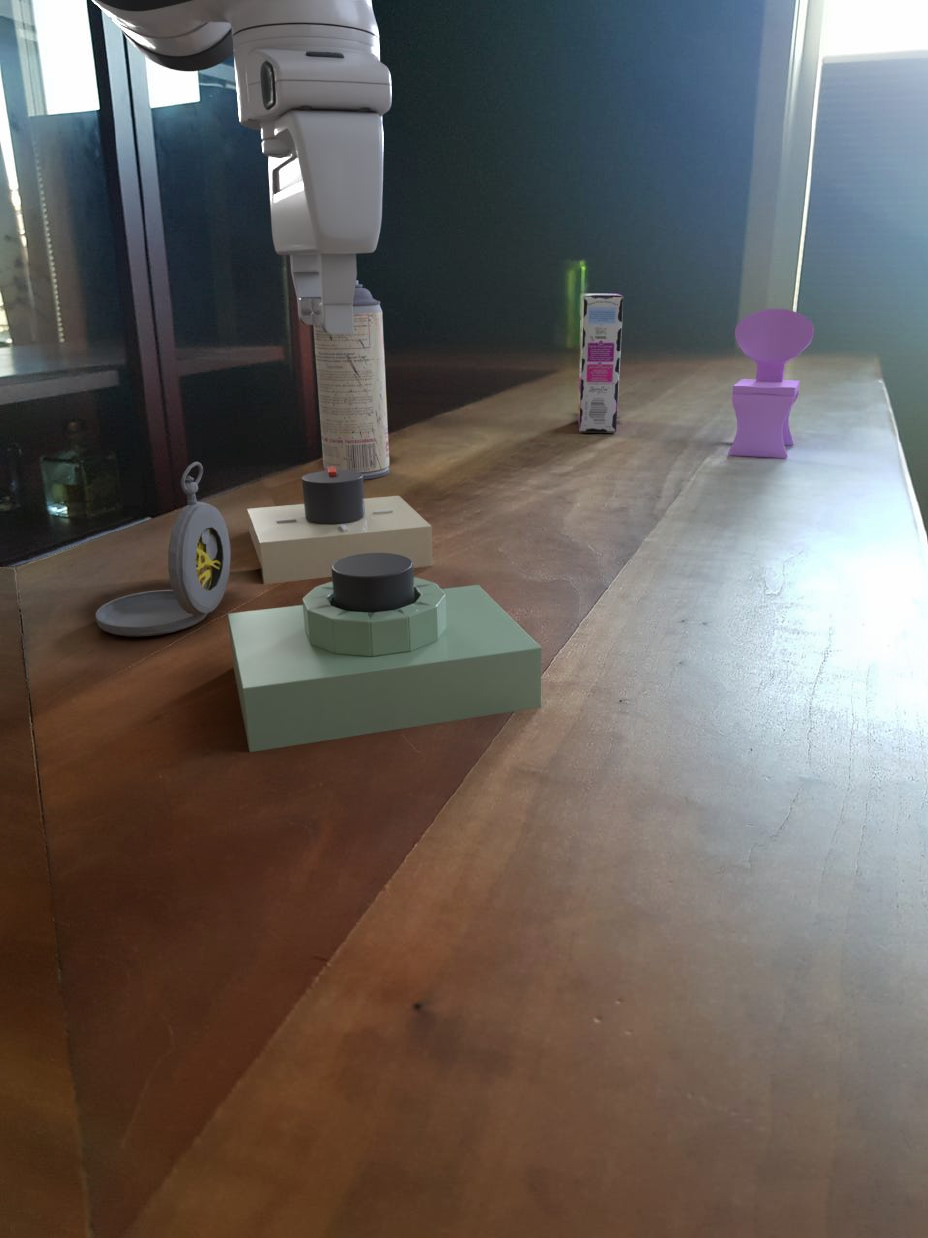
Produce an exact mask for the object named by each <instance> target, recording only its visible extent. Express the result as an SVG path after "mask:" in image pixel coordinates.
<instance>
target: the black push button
mask: <svg viewBox="0 0 928 1238" xmlns="http://www.w3.org/2000/svg"><path fill="white" fill-rule="evenodd" d="M414 575H415V574H414V568H413V562H412V561H411V560H410V559H409V558H407V557H405V556H401V555H397V554H390V553H365V554H358V555H352V556H348V557H345V558H342V559H340V560H338V561H336V562H335V563H334V564H333V565H332V577H331V582H332V583H333V597H334V606H335V607H336V608H339V609H342V610H345V611H352V612H367V613H374V612H382V611H391V610H396V609H399V608H402V607H405V606H408V605H410V604H413V603H414V601H415V598H414V577H415V576H414Z"/></svg>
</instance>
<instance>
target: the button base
mask: <svg viewBox="0 0 928 1238" xmlns="http://www.w3.org/2000/svg"><path fill="white" fill-rule="evenodd" d="M414 598H415V601H414V603H413V604H410V605H408V606H405V607H402V608H399V609H396V610H391V611H382V612H374V613H367V612H352V611H345V610H342V609H339V608H336V607H335V606H334V597H333V583H332V581H329V582H326V583H323V584H319V585H317V586H315V587H314V588H312V590H311V591H309V592H308V593H307V594H306V595H304V596H303V597H302V600H301V601H302V604H299V605H292V606H282V607H273V608H266V609H265V608H264V609H256V610H247V611H239V612H231V613H227V622H228V631H229V638H230V639H229V640H230V649H231V657H232V666H233V672H234V679H235V682H236V687H237V692H238V698H239V705H240V709H241V714H242V719H243V723H244V724H243V725H244V730H245V736H246V741H247V746H248V751H249V753H254V752H260V751H266V750H267V751H268V750H274V749H280V748H286V747H293V746H299V745H304V744H305V745H306V744H312V743H318V742H325V741H331V740H337V739H338V740H339V739H344V738H350V737H351V738H352V737H357V736H358V737H359V736H364V735H371V734H376V733H382V732H383V733H384V732H390V731H396V730H403V729H409V728H416V727H423V726H428V725H429V726H430V725H435V724H441V723H447V722H455V721H461V720H467V719H474V718H479V717H486V716H493V715H500V714H506V713H512V712H513V713H514V712H518V711H519V712H520V711H525V710H533V709H539V708H541V707H542V654H543V653H542V648H543V647H541V646H540V645H539V643H537V641H535V640H534V638H533V637H532V636H530V635H529V634H528V633H527V632H526V631H525V630H524V628H523V627H521V626H520V625H519V624H518V623H517V622H516V621H515V620H514V619H513V618H512V617H511V616H510V615H509V614H508V613H507V612H506V611H505V610H504V609H503V608H502V607H501V606H500V605H499V604H498V603H497V602H496V601H495V600H494V599H493V598H492V597H491V596H490V595H489V594H488V592H486V591H485V590H484V589H483V588H482V587H481V586H480V585H479V584H473V585H465V586H464V585H463V586H456V587H447V588H441V587H440V586H439V585H438V584H437V582H433V581H431V580H427V579H423V578H419V577H417V576H414Z"/></svg>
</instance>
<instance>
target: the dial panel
mask: <svg viewBox="0 0 928 1238" xmlns="http://www.w3.org/2000/svg"><path fill="white" fill-rule="evenodd" d="M364 501H365V516H364V517H363V518H362V519H359V520H356V521H353V522H348V523H339V524H320V523H314V522H310V521H308V520H306V518H305V509H304V503H299V504H287V505H277V506H265V507H254V508H247V509H246V512H247V521H248V523H247V524H248V531H249V535H250V538H251V541H252V544H253V546H254V549H255V552H256V556H257V558H258V561H259V564H260V567H261V568H258V572H259V574H260V577H261V581H262V584H263V585H268V584H269V585H270V584H278V583H286V582H288V583H289V582H296V581H297V582H298V581H305V580H314V579H324V578H332V565H333V564H334V563H335V562H336V561H338V560H340V559H342V558H345V557H348V556H352V555H358V554H365V553H390V554H397V555H401V556H405V557H407V558H409V559H410V560H411V561H412V562H413V569H417V568H424V567H426V568H427V567H433V535H432V525H431V524H430V523H429V522H428V521H427V520H425V518H423V517H422V516H421V515H420V514H419V513H418V512H417V511H416V510H415V509H414V508H413V507H411V505H410V504H409V503H407V502H406V501H405V500H404V499H403V497H401V496H400V495H391V496H379V497H368V498H366V497H365V498H364Z"/></svg>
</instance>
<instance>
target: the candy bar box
mask: <svg viewBox="0 0 928 1238" xmlns="http://www.w3.org/2000/svg"><path fill="white" fill-rule="evenodd" d="M581 300H582V301H581V319H580V320H581V323H580V345H579V347H580V348H579V370H578V371H579V373H578V375H579V376H578V407H577V409H578V411H577V420H578V421H577V423H578V432H579V433H583V434H584V433H585V434H586V433H587V434H590V433H591V434H593V433H594V434H614V433H616V432H617V426H618V425H617V424H618V411H619V410H618V409H619V407H618V406H619V390H620V373H621V372H620V371H621V354H622V353H621V351H622V334H623V333H622V332H623V314H624V313H623V311H624V296H623V295H621V294H620V293H603V292H602V293H599V292H598V293H583V294H582V299H581Z"/></svg>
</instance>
